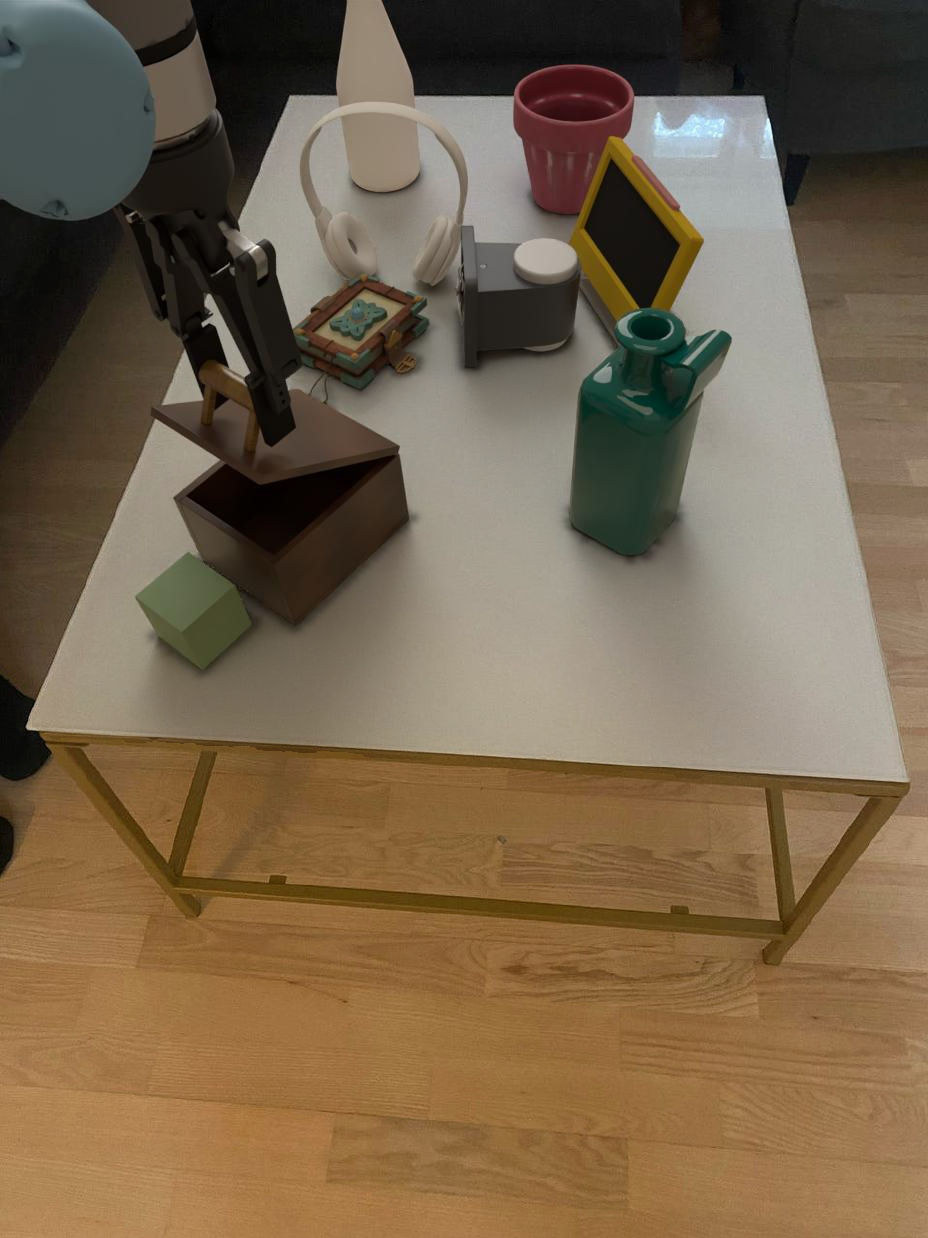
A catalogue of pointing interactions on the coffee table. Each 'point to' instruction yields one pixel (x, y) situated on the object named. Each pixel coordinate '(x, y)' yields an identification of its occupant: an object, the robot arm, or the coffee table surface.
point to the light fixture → (516, 294)
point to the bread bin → (294, 528)
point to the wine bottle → (376, 100)
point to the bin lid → (240, 441)
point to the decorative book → (360, 330)
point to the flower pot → (569, 129)
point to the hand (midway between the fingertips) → (250, 417)
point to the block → (194, 610)
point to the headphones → (347, 234)
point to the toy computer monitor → (631, 238)
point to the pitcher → (640, 428)
